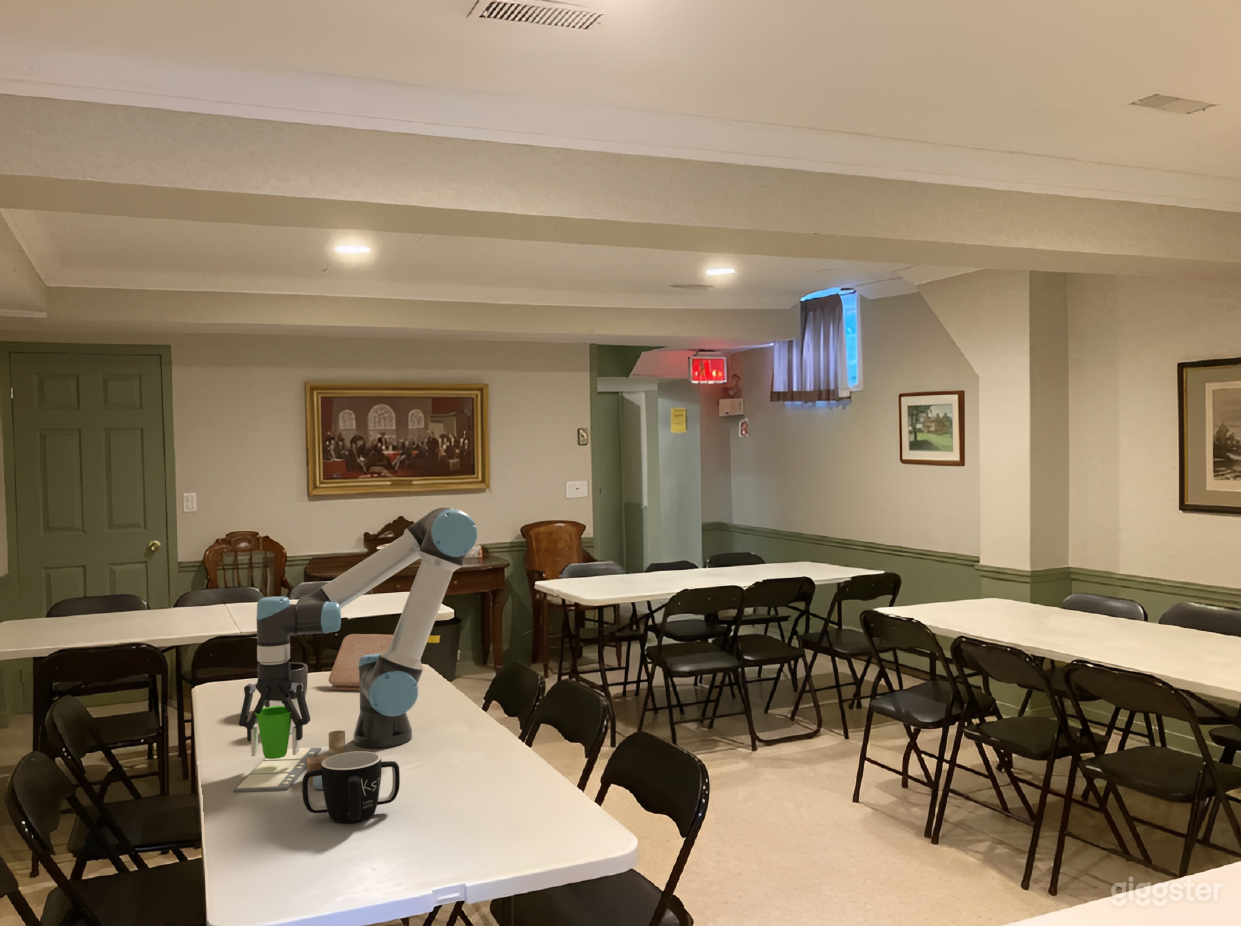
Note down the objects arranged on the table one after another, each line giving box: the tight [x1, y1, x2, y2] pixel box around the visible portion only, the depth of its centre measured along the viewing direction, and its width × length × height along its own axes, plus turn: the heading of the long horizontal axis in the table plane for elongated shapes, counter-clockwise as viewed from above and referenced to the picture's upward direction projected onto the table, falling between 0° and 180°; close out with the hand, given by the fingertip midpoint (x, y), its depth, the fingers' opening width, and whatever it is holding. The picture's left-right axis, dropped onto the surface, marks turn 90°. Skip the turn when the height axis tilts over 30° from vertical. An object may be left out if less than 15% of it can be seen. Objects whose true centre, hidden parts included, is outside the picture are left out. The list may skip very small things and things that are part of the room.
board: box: [233, 747, 322, 793], centre depth 234 cm, size 12×30×1 cm, turn 3°
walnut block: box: [306, 754, 329, 786], centre depth 225 cm, size 5×5×5 cm
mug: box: [301, 750, 401, 824], centre depth 202 cm, size 16×16×12 cm
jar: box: [270, 688, 302, 735], centre depth 267 cm, size 9×8×12 cm
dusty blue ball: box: [312, 776, 323, 790], centre depth 219 cm, size 4×4×4 cm
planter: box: [259, 662, 309, 708], centre depth 290 cm, size 14×14×13 cm
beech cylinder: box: [328, 730, 346, 755], centre depth 243 cm, size 4×4×6 cm
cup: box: [255, 706, 292, 759], centre depth 233 cm, size 9×9×11 cm
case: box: [328, 633, 394, 692], centre depth 322 cm, size 20×21×16 cm
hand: (275, 753), depth 234 cm, fingers closed on cup, 9 cm apart
